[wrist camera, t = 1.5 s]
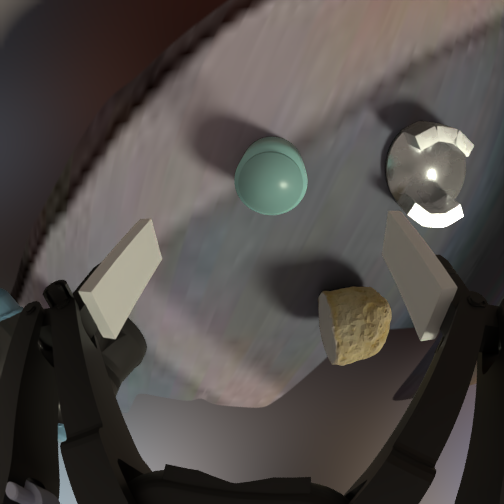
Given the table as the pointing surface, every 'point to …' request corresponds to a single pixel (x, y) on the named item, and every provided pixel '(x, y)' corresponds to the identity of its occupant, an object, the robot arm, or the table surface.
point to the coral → (353, 323)
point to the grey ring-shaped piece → (428, 172)
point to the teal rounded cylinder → (271, 176)
